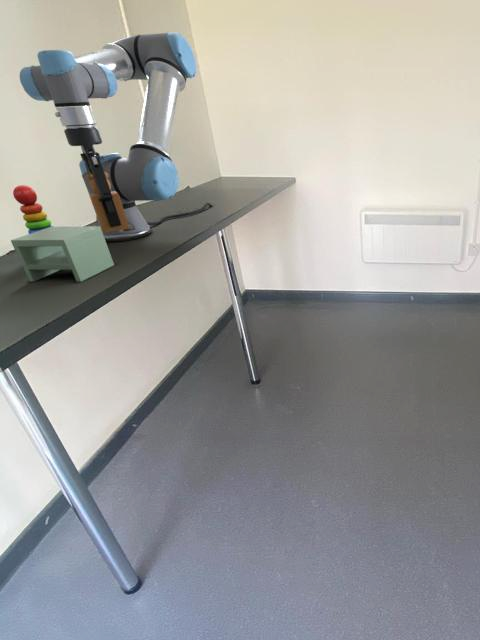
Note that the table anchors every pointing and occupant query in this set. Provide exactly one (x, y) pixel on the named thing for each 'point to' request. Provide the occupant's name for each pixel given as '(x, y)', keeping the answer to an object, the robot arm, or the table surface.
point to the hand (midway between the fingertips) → (114, 223)
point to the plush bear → (100, 210)
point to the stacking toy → (31, 209)
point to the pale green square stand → (63, 252)
